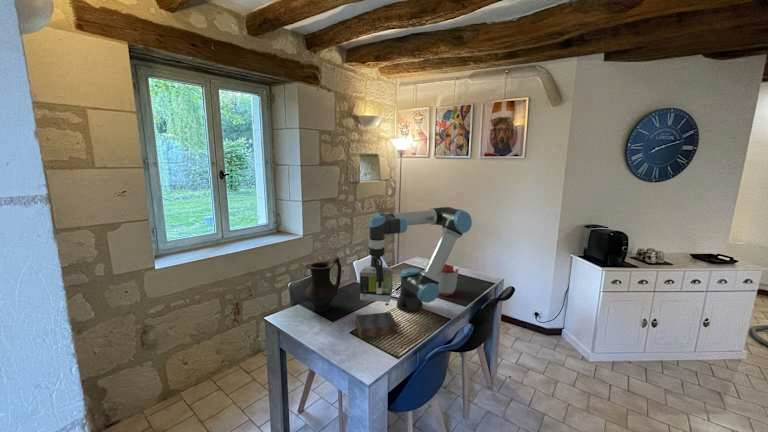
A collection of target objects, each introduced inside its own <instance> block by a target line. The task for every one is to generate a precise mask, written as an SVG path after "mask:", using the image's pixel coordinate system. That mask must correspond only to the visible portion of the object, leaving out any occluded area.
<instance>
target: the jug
mask: <svg viewBox="0 0 768 432" xmlns="http://www.w3.org/2000/svg"><path fill="white" fill-rule="evenodd" d="M335 265H337V273H336V282H335V283H334V284H333V283H332V281H331V270H332V268H333V267H334V266H335ZM305 267H306V269H309V270H310V273H311V283H310V285H309V286H308V287H307V288H306V289H305V292H304V296H305V298H306V299H307V300H308V301H309V302H310V303H311V310H312V311H314V312H318V313H322V312H327V311H329V310H330V309H331V308H332V305H331V303H332V301H333V300H334V299H335V298H336V297H337V295H338V289H339V288H340V285H341V280H342V279H341V278H342V265H341V262H340V258H339V256H336V257H334V259H332V260H327V259H326V260H324V259H322V260H320V259H319V260H314V261H311V262H308V263H307V264H306V265H305Z"/></svg>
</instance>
